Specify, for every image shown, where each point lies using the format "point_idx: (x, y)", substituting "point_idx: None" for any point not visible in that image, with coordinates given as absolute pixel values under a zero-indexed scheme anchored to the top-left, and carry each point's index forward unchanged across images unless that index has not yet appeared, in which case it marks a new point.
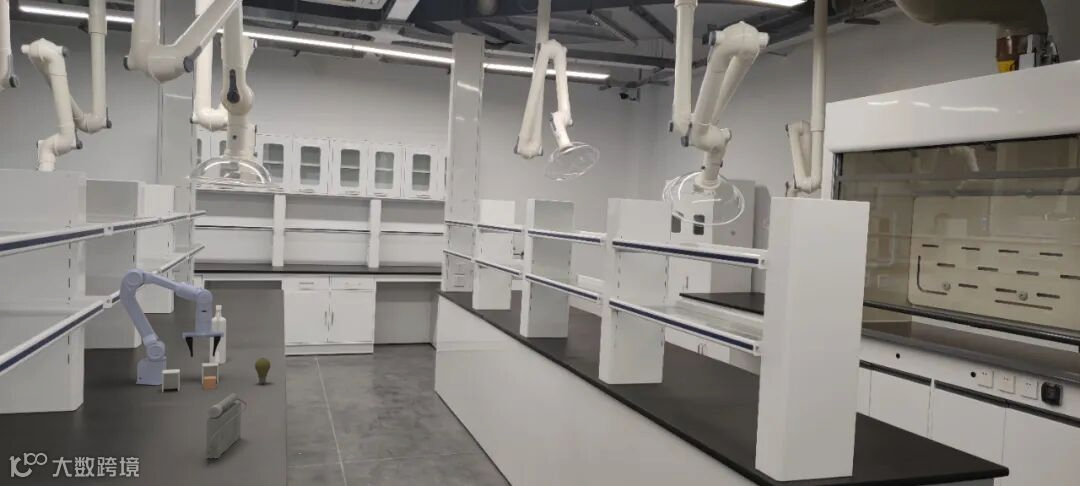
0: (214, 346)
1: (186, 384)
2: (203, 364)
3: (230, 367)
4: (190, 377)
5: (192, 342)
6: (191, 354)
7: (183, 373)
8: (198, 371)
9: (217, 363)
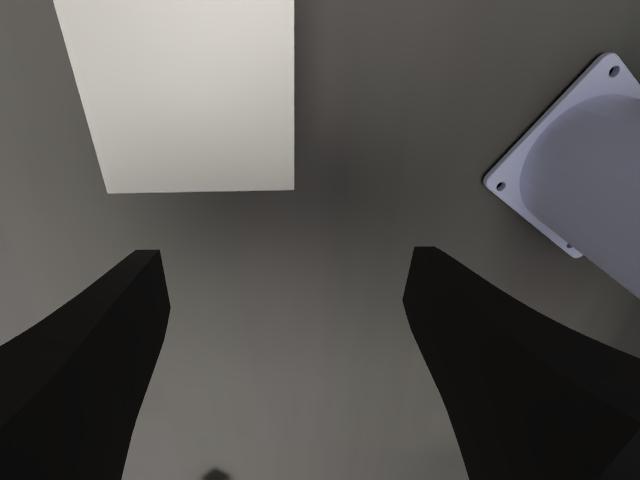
0: (60, 344)
1: (407, 31)
2: (279, 89)
3: (140, 437)
4: (353, 261)
5: (587, 388)
6: (447, 259)
7: (378, 355)
8: (302, 383)
9: (95, 113)
